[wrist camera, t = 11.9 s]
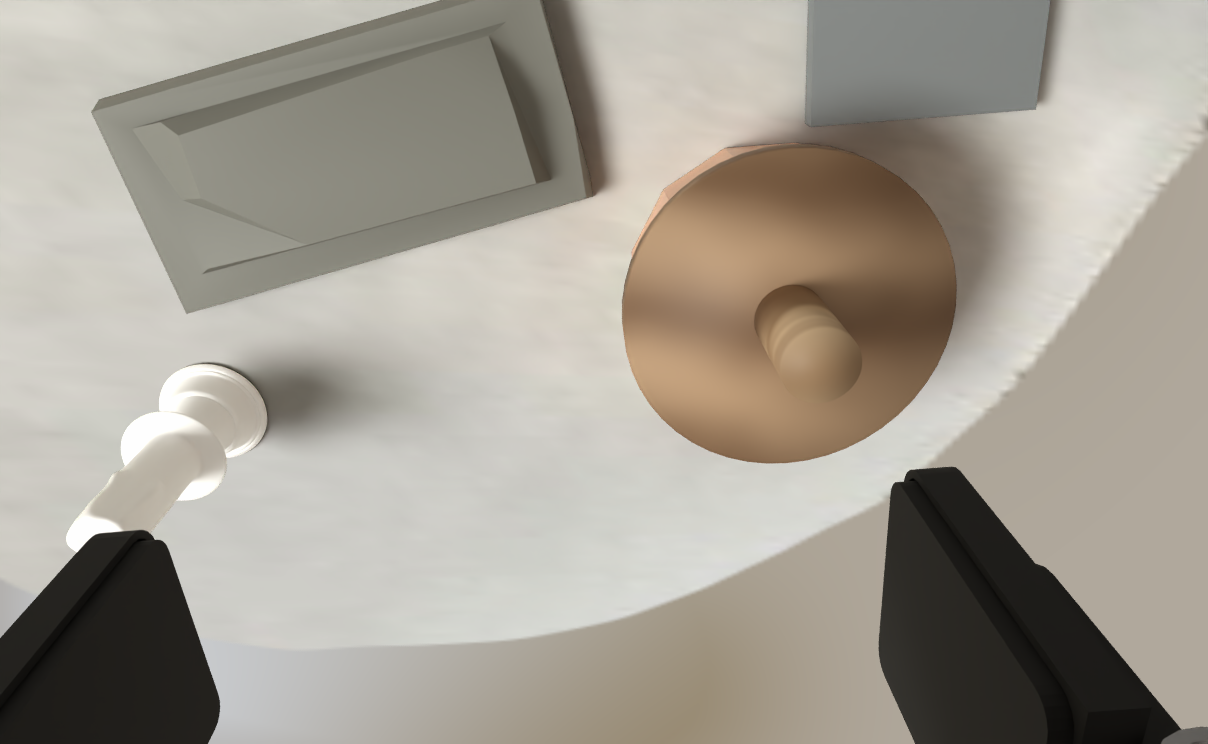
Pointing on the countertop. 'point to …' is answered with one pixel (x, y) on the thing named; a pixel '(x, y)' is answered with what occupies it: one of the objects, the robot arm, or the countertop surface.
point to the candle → (176, 450)
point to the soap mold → (348, 146)
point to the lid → (788, 303)
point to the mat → (921, 58)
